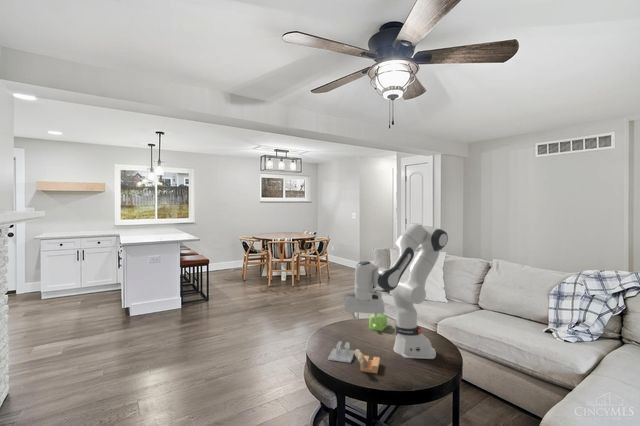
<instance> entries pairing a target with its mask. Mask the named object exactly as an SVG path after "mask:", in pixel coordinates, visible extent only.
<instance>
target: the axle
mask: <svg viewBox="0 0 640 426" xmlns="http://www.w3.org/2000/svg"><path fill="white" fill-rule="evenodd" d="M353 351H354V357H356V359H357V360H358V362H359V365H360V364H361V365H362V367H363V368H367V367H368V365H369V364H368V362H367V361H366V359H365V358H364V356H365V355H364V354H363V353H362V352H361V350H360V349H359V348H356V349H355V350H353ZM363 355H364V356H363Z"/></svg>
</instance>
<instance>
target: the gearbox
mask: <svg viewBox="0 0 640 426" xmlns="http://www.w3.org/2000/svg"><path fill="white" fill-rule="evenodd" d="M374 317H375V316H374V314H373V313H372V314H371V315H370V316H369V318H368V322H369V324H368V327H369V328H368V329H369V330H371V331H379V332H382V331H383V330H385V329H386V328H387V326H388V317H387V314H384V313H383V314H377V317H376V319H375V322H372V318H374Z"/></svg>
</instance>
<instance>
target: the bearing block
mask: <svg viewBox="0 0 640 426" xmlns="http://www.w3.org/2000/svg"><path fill="white" fill-rule="evenodd" d="M342 343H343V341H341V340H339V341H338V342H337V344H336V345H335V347H336V348H335V347H334V348H332V350H331V351H330V354H329V356H328V357H327V361H332V362H341V363H348V364H351V363H352V361H353V359H354V357H355V354H354V351H355V350H352V349H351V350H350V344H351V343H350V342H348V341H347V342H345V344H344V345H343V348H344V349H342V348H341V347H342V346H341V345H342Z"/></svg>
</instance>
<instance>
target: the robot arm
mask: <svg viewBox="0 0 640 426" xmlns="http://www.w3.org/2000/svg"><path fill="white" fill-rule="evenodd" d="M448 241H449V237H448V233H447V231H445V230H443V229H441V228H437V227H434V226H430V225H429V226H428V225H424V224H417V223H414V224H411V225H409V227H407V228H406V229H405V230H404V231H403V232H402V233H401V234H400V235H399V236H398V238H397V239H396V240H395V242H394V248H395V250H396V252H397V253H398V255H399V256H398V257H397V259H396V261H394V263H393V265H392V266H391V267H389V268H384V267H380V266H378V265H375V264H373V263H372V262H370V261H368V260H367V261H365V260H364V261H360V262H358V263H356V265H355V269H354V281H355V286H354V293H350V292H348V293H345V294H344V295H343V301H344V306H343V309H344V311H345V313H350V314H351V317H352V318H353V320H352V321H354V322H357V319H358V316H355V313H356V314H357V313H358V314H372V315H373V314H374V316H375V317H374V318H372V322H375V319H376V317H377V314H384V313H385V311H386V310H385V309H386V308H385V302H384V299H383V298H382V296H383V295H382V292H380V291H377V290H374V286H375V287H376V286H377V288H378V287H379V288H381V289H383V290H385V291H388V292H390V293H391V295H392V298H393V302H394V307H395V315H396V316H395V317H396V318H395V319H396V321H395V323H396V324H395V325H394V327H395V331H394V333H395V340H394V346H393V349H392V351H393V352H395V353H396V354H397V355H400V356H402V357H403V358H405V359H424V360H425V359H427V360H434V359H435V358H436V356H437V351H436V349H435V348H433V346H432V343H431V341H430V339H429V338H427V337H426V336H425V335H424V334H423V331H422V329H421V326H420V325H418V313H417V310H416V308H415V306H414V305H420V304H422V303H424V302H425V299H426V296H427V290H426V288H425V287H426V282H427V279H428V277H429V275H430V273H431V272H432V270H433V269H434V266H435V265H436V263H437V261H438V258H439V255H440V251H441V250H442V249H443V248H444V247H446V245H447V243H448ZM420 245H422V246H421V248H420V250H419V251H418V252H417V253H416V255H415V252H416V250H417V249H418V248H419V247H420ZM414 255H415V257H414ZM407 269H408V272H409V275H408V278H407V279H404V278H402V276H403V274H404V273H405V271H406V270H407Z"/></svg>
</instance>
